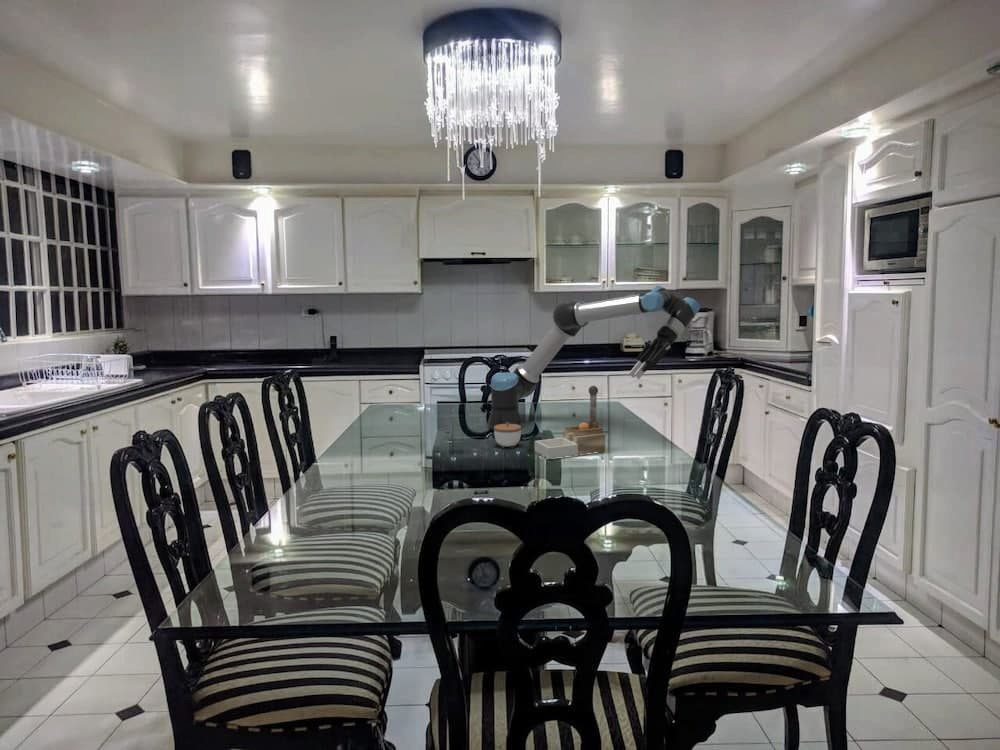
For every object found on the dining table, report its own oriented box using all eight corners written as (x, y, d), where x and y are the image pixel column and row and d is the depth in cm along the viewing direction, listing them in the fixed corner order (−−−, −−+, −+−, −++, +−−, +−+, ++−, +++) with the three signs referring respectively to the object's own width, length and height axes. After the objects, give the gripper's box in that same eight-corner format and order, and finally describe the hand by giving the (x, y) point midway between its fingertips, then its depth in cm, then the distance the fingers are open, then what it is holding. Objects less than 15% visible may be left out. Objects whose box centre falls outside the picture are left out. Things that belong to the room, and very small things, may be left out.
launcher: (563, 449, 281) (563, 426, 279) (590, 445, 285) (590, 423, 284) (577, 455, 271) (577, 432, 269) (605, 452, 275) (605, 428, 274)
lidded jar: (498, 450, 281) (497, 426, 279) (491, 443, 291) (490, 420, 289) (524, 447, 284) (524, 424, 282) (516, 441, 294) (516, 418, 292)
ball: (576, 432, 278) (576, 422, 277) (585, 431, 279) (586, 420, 279) (582, 434, 274) (582, 424, 274) (591, 433, 276) (591, 423, 275)
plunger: (586, 430, 280) (586, 385, 277) (594, 429, 281) (594, 384, 278) (592, 432, 276) (592, 387, 273) (600, 431, 277) (600, 386, 274)
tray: (534, 452, 276) (534, 440, 276) (562, 448, 281) (562, 437, 280) (549, 460, 266) (548, 448, 265) (577, 456, 270) (577, 444, 269)
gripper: (688, 339, 280) (651, 385, 276) (663, 335, 295) (628, 379, 291) (677, 326, 277) (640, 372, 274) (652, 323, 292) (616, 367, 288)
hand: (634, 376), depth 282 cm, fingers open, 3 cm apart
